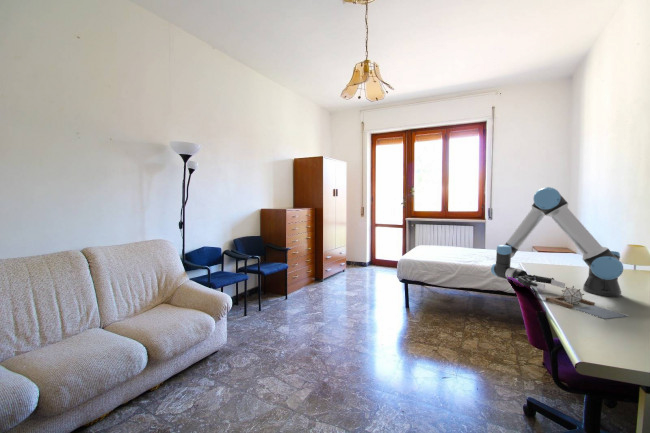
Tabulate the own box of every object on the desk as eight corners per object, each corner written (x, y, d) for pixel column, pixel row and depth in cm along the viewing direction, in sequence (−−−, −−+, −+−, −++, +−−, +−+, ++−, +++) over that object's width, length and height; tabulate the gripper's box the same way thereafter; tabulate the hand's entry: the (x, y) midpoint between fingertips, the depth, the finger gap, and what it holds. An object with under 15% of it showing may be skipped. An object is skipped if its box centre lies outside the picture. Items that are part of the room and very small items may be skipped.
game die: (576, 312, 142) (592, 300, 136) (558, 304, 144) (573, 292, 137) (571, 298, 149) (586, 286, 143) (553, 291, 151) (568, 278, 144)
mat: (595, 306, 140) (595, 305, 140) (627, 316, 129) (627, 315, 129) (573, 308, 136) (573, 308, 136) (604, 319, 125) (604, 318, 125)
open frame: (569, 297, 152) (569, 295, 152) (594, 305, 142) (594, 302, 141) (545, 300, 148) (545, 297, 147) (569, 308, 137) (569, 305, 137)
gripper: (533, 280, 175) (572, 292, 155) (499, 283, 168) (534, 295, 148) (534, 268, 175) (573, 277, 154) (499, 269, 168) (536, 280, 147)
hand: (554, 286), depth 151 cm, fingers open, 13 cm apart
